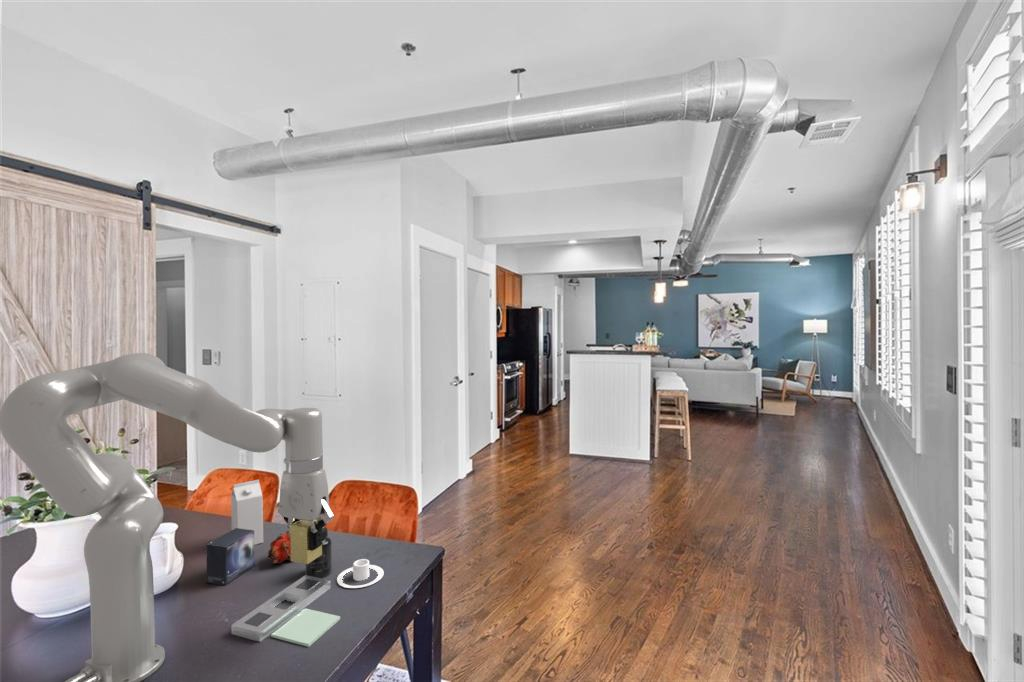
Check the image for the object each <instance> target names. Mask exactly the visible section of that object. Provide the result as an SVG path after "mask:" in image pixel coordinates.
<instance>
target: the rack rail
mask: <svg viewBox="0 0 1024 682" xmlns="http://www.w3.org/2000/svg"><path fill="white" fill-rule="evenodd" d="M330 589H331V580H330V579H326V578H317V577H312V576H307V575H306V574H305V575H303V576H301V577H300V578H299V579H297V580H296V581H295V582H293V583H291V584H290V585H289V586H287V587H285V588H284V589H282V590H281V591H280V592H278V593H276V594H275V595H274V596H272V597H270V598H269V599H268V600H267V601H265V602H263V603H261V604H260V605H259V606H258V607H256V608H254V609H253V610H251V611H250V612H249V613H247V614H246V615H244V616H242V617H241V618H240V619H238V620H237V621H235V622H233V624H231V629H230V630H231V635H233V636H237V637H240V638H241V637H242V638H245V639H247V640H252V641H256V642H262V641H263V640H265V639H266V638H267V637H268V636H269V635H270V636H271V634H272V633H274V632H275V631H276V630H277V629H279V628H280V627H281V626H283V625H284V624H285V623H287V622H288V621H289V620H290V619H292V618H293V617H294V616H296V615H297V614H298V613H300V612H301V611H302V610H304V609H305V608H306V607H307V606H309V605H311V603H313V602H314V601H315V600H317V599H318V598H319V597H321V596H322V595H324V594H325V593H326V592H327V591H329V590H330ZM284 600H287V602H290V601H291V602H290V603H293V604H291V605H290V606H288V608H286V609H284V608H283V609H282V608H278V607H277V605H278V604H279V603H280V604H282V603H283V602H285V601H284ZM282 601H283V602H282ZM281 602H282V603H281ZM294 602H295V603H294ZM280 604H279V605H280ZM279 605H278V606H279ZM275 606H276V607H275Z"/></svg>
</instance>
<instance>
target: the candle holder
mask: <svg viewBox="0 0 1024 682" xmlns="http://www.w3.org/2000/svg"><path fill="white" fill-rule="evenodd" d="M369 568H370V569H369ZM371 569H373V570H372V571H374V570H375V571H376V572H377V573H376V575H377V574H378V576H376V578H374V579H373V580H372V581H370V582H368V583H365V584H359V585H351V584H350V585H349V584H346V583H345V582H344V578H343V576H344V575H345V574H346V573H348V572H350V571H352V577H353V580H354V581H356V582H361V581H362V580H363V581H365V579H366V580H368V579H369V578H370V575H371V574H370V570H371ZM375 571H374V572H375ZM350 573H351V572H350ZM384 573H385V572H384V569H383V568H382V567H380V566H378V565H376V564H370V560H369V559H367V558H361V559H360V558H359V559H357V560H355V561H354V562H353V563H352V567H349V568H347V569H344V570H342V571H341V573H339V574H338V576H337V577H336V583H337V584H338V586H340V587H343V588H345V589H346V588H347V589H359V588H360V589H361V588H366V587H369V586H372V585H374V584H375V583H377V582H379V581H380V580H381V579H382V578H383V577H384ZM348 574H349V573H348ZM345 576H346V575H345ZM368 577H369V578H368ZM342 579H343V580H342ZM363 581H362V582H363ZM343 582H344V583H343Z"/></svg>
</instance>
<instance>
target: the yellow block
mask: <svg viewBox="0 0 1024 682" xmlns="http://www.w3.org/2000/svg"><path fill="white" fill-rule="evenodd" d="M317 523H318V522H317V519H316V524H317ZM289 532H290V543H291V562H295V563H299V564H303V565H305V564H309V563H310V562H312V561H313V560H315V559H316V558H318V557H319V556H321V555H322V545H321V546H320V547H318V548H316V549H315V550H313V551H310V544H309V533H310V532H312V531H311V526H310V522H309V521H306V520H299V521H297V522H295V523H293V524H291V525H290V529H289Z"/></svg>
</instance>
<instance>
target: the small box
mask: <svg viewBox="0 0 1024 682" xmlns="http://www.w3.org/2000/svg"><path fill="white" fill-rule="evenodd" d="M252 568H255V545H254V530H247V529H240V528H235V529H234V530H232V529H231V530H230V531H228V532H225V534H223V535H221V536H219V537H217V538H215V539H213V540H211V541H209V542H208V543H206V583H207V584H212V585H213V584H214V585H221V586H227V585H229V584H230V583H231V582H233V581H234V580H236V579H238V578H239V577H240V576H242V575H243V574H245V573H247V572H248V571H249V570H251V569H252Z"/></svg>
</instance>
